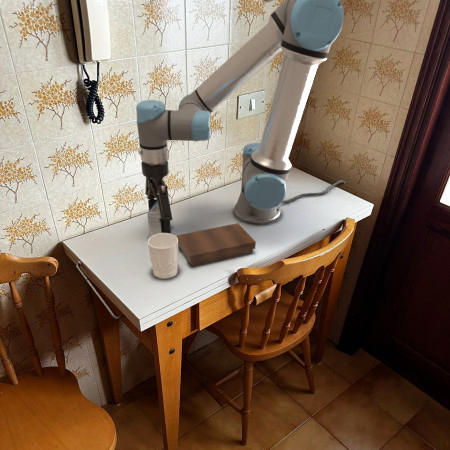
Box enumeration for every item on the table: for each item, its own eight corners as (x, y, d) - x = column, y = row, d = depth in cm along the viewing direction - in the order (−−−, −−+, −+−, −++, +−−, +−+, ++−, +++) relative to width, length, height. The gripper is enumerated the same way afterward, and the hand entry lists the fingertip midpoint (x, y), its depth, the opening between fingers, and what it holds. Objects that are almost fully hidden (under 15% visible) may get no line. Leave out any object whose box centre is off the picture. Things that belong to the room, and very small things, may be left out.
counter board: (237, 234, 138) (238, 222, 136) (254, 253, 130) (255, 241, 127) (177, 247, 132) (176, 235, 129) (190, 268, 123) (190, 256, 121)
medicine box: (163, 239, 135) (161, 214, 130) (149, 238, 136) (147, 212, 130) (171, 227, 141) (169, 202, 136) (157, 225, 142) (155, 200, 136)
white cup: (147, 278, 119) (143, 246, 113) (156, 262, 125) (153, 231, 119) (175, 281, 118) (173, 250, 112) (183, 265, 124) (181, 234, 118)
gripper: (130, 147, 132) (138, 213, 145) (154, 179, 114) (160, 250, 128) (155, 144, 134) (160, 209, 147) (181, 175, 117) (184, 244, 130)
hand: (160, 228), depth 137 cm, fingers open, 12 cm apart
